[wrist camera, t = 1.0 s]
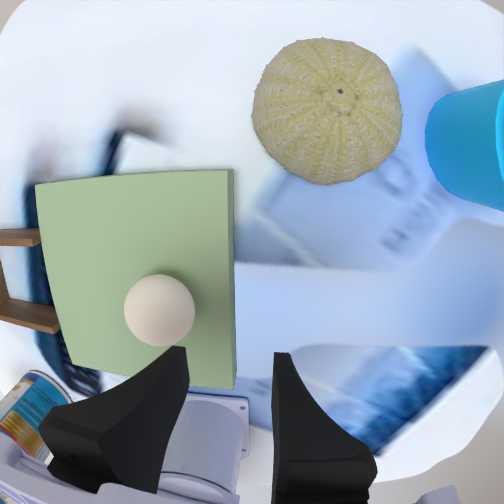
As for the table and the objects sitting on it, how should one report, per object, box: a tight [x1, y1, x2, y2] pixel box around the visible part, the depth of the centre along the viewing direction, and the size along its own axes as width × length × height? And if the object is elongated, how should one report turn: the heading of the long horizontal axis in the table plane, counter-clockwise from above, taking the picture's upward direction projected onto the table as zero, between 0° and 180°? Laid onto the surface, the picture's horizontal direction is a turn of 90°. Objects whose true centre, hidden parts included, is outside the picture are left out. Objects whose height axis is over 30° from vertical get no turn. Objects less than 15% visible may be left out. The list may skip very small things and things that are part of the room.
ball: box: [124, 274, 195, 347], centre depth 18 cm, size 4×4×4 cm
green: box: [35, 169, 237, 390], centre depth 21 cm, size 16×15×2 cm
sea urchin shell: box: [251, 37, 403, 186], centre depth 16 cm, size 9×8×8 cm
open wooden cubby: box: [0, 228, 61, 334], centre depth 20 cm, size 11×11×7 cm
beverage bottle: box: [0, 371, 72, 504], centre depth 19 cm, size 8×8×20 cm
